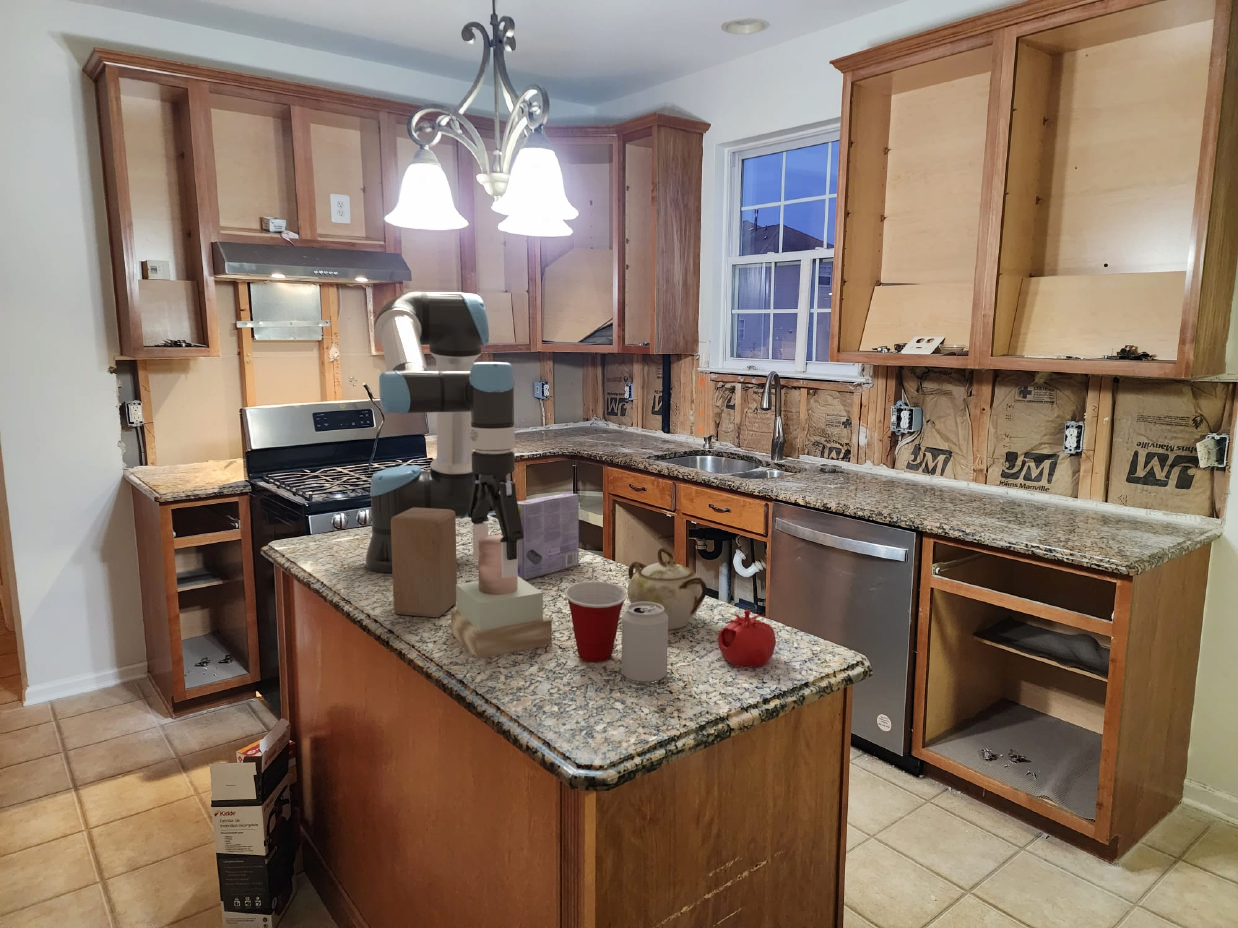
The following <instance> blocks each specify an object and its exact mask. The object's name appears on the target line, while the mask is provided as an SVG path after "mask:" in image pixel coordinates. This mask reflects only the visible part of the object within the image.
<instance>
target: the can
mask: <svg viewBox="0 0 1238 928" xmlns="http://www.w3.org/2000/svg"><path fill="white" fill-rule="evenodd" d="M625 609H626V611H625V612H624V613H623V614H622V620H621V621H622V622H621V628H622V629H621V674H622V675H623V676H624V677H625V678H626V679H627V678H628V679H629V680H628V679H627V680H628V681H630V680H631V681H634V682H638V683H652V682H655V681H658V682H660V681H661V680H662V679H664V678H665V677H666V675H667V674H668V648H669V647H668V643H669V640H668V638H669V637H668V636H669V630H668V616H667V614H666V613H665V612H664V610H665V608H664V607H663V606H662V605H660V604H658V603H654V602H635V603H632V604H631V603H630V604H627V606H626V608H625ZM659 680H660V681H659ZM631 681H630V682H631ZM634 682H633V683H634ZM638 683H637V684H638Z"/></svg>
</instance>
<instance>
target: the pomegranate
mask: <svg viewBox="0 0 1238 928" xmlns="http://www.w3.org/2000/svg"><path fill="white" fill-rule="evenodd" d="M743 613H744V616H740V615H739V614H737V613H730V615H731V616H735V617H736V618H735V619H730V620H728V621H727V622H725V624H727V625H726V626H725V627H723V628H721V630H720V631H719V633H718V636H717V644H718V649H719V650H720V653H721V656H722V657H723V659H724V660H726V662H727V663H729V664H732V665H734V666H736V667H739V668H743V667H749V668H759V667H763V666H765V665H766V664H767V663H768V662H769V661H770V660H771V658H772V657H773V654H774V650H775V649H776V646H777V645H776V644H777V640H776V634H775V630H774V628H773V627H772V626H771V625H770V624H768V623H767V622H766V623H765V622H764V621H760V620H758V618H759V617H761V618H764V616H763V615H761V614H756V615H755V616H753V617H750V614H751V610H750V609H746V610H744V612H743Z"/></svg>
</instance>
